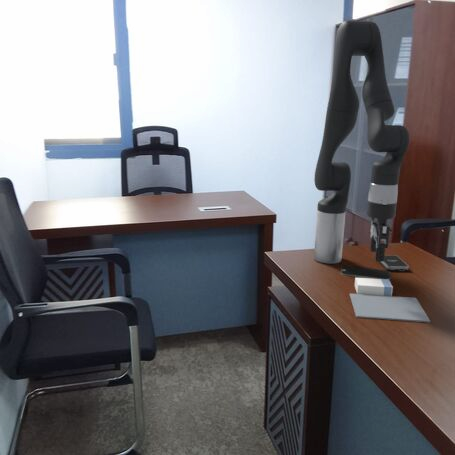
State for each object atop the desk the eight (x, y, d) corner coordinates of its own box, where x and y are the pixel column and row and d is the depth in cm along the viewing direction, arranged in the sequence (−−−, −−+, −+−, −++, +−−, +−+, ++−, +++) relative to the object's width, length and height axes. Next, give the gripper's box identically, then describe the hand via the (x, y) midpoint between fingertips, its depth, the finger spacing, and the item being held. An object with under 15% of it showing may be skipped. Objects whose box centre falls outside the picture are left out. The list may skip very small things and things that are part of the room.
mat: (349, 294, 132) (349, 293, 132) (415, 299, 129) (416, 297, 129) (356, 317, 118) (356, 315, 118) (430, 322, 116) (430, 321, 116)
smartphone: (341, 265, 153) (389, 270, 149) (341, 267, 154) (389, 272, 150) (340, 273, 146) (390, 279, 142) (340, 276, 146) (390, 281, 143)
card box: (357, 294, 132) (358, 285, 132) (354, 286, 138) (355, 277, 137) (391, 296, 131) (392, 287, 131) (387, 288, 137) (388, 279, 136)
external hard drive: (387, 272, 150) (388, 266, 150) (376, 260, 161) (376, 254, 160) (408, 272, 150) (409, 266, 150) (396, 260, 161) (396, 255, 160)
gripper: (364, 194, 135) (359, 248, 139) (372, 204, 121) (366, 263, 125) (391, 195, 134) (385, 249, 138) (402, 205, 120) (395, 265, 124)
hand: (376, 256), depth 131 cm, fingers open, 8 cm apart
